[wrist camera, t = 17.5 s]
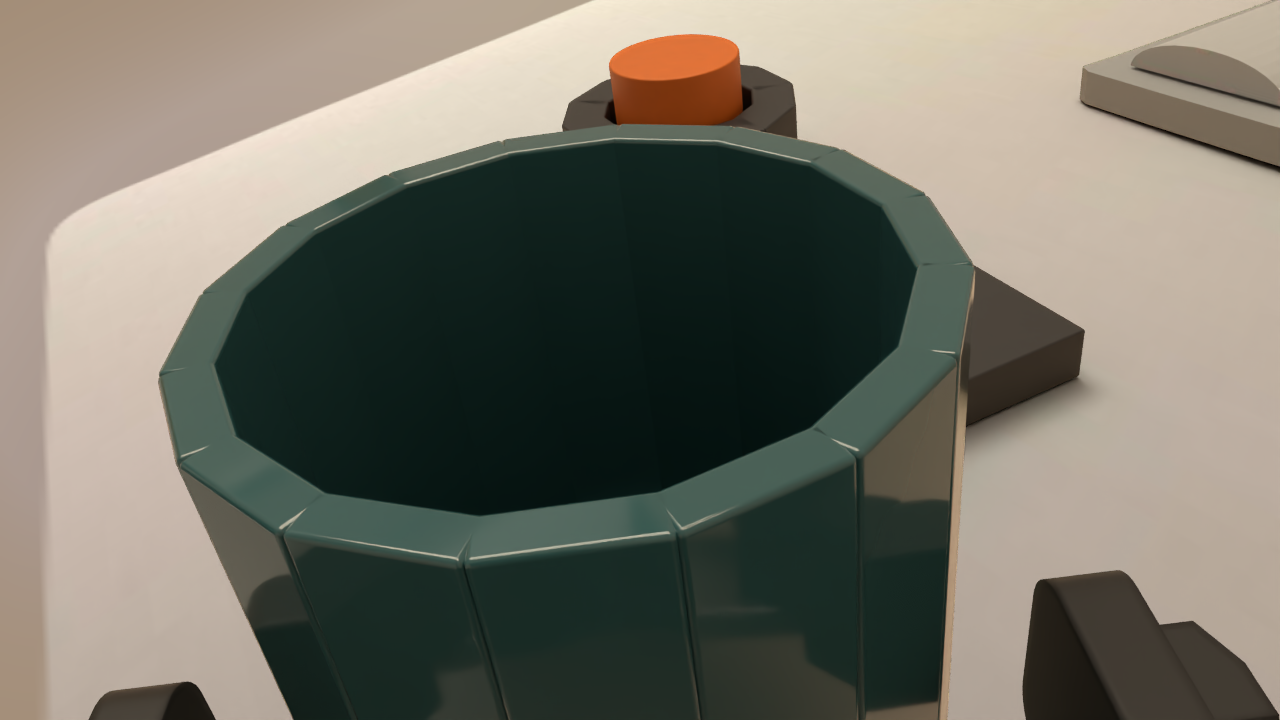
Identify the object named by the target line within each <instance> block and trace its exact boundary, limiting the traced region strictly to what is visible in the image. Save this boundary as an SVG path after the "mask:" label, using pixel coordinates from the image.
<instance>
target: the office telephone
mask: <svg viewBox="0 0 1280 720" xmlns="http://www.w3.org/2000/svg"><path fill="white" fill-rule="evenodd" d="M1080 100H1082V101H1083V102H1084V103H1085V104H1088V105H1091V106H1094V107H1097V108H1100V109H1103V110H1106V111H1109V112H1112V113H1115V114H1118V115H1121V116H1124V117H1127V118H1130V119H1133V120H1137V121H1140V122H1143V123H1146V124H1149V125H1152V126H1155V127H1158V128H1161V129H1164V130H1167V131H1170V132H1173V133H1177V134H1180V135H1183V136H1186V137H1189V138H1192V139H1195V140H1198V141H1202V142H1205V143H1208V144H1211V145H1214V146H1217V147H1220V148H1223V149H1227V150H1230V151H1233V152H1236V153H1239V154H1242V155H1245V156H1248V157H1252V158H1255V159H1258V160H1261V161H1264V162H1267V163H1270V164H1273V165H1277V166H1280V0H1272V1H1269V2H1266V3H1263V4H1260V5H1257V6H1255V7H1252V8H1249V9H1246V10H1243V11H1240V12H1238V13H1235V14H1232V15H1229V16H1226V17H1223V18H1221V19H1218V20H1215V21H1212V22H1209V23H1206V24H1204V25H1201V26H1198V27H1195V28H1192V29H1190V30H1187V31H1184V32H1181V33H1178V34H1175V35H1173V36H1170V37H1167V38H1164V39H1161V40H1158V41H1156V42H1153V43H1150V44H1147V45H1144V46H1141V47H1139V48H1136V49H1133V50H1130V51H1127V52H1124V53H1122V54H1119V55H1116V56H1113V57H1110V58H1107V59H1104V60H1101V61H1098V62H1094V63H1091V64H1088V65H1085V66H1083V71H1082V81H1081V91H1080Z"/></svg>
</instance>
